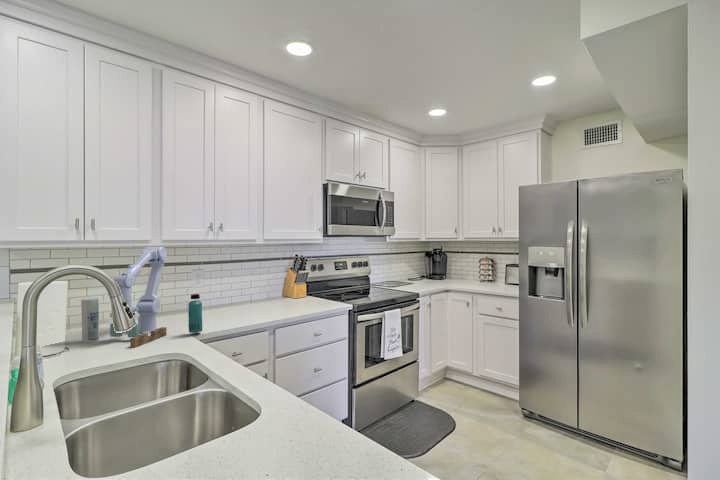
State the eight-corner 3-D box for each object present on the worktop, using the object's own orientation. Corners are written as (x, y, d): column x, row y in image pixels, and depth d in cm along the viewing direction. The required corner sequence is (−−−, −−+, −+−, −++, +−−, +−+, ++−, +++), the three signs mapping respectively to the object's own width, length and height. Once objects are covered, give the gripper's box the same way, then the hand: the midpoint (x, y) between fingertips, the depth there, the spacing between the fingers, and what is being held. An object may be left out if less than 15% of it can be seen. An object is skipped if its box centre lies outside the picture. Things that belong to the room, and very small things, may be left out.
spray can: (90, 338, 174) (90, 297, 174) (102, 339, 173) (101, 297, 173) (78, 342, 168) (77, 299, 167) (90, 343, 167) (89, 299, 166)
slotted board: (135, 347, 159) (135, 338, 159) (130, 347, 159) (130, 338, 159) (166, 335, 179) (166, 327, 179) (162, 335, 179) (162, 327, 179)
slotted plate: (110, 336, 171) (110, 324, 171) (113, 335, 173) (113, 323, 173) (136, 337, 169) (136, 324, 169) (139, 336, 171) (139, 323, 171)
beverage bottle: (198, 331, 184) (198, 292, 184) (205, 334, 180) (204, 294, 180) (186, 334, 179) (185, 294, 179) (192, 336, 175) (191, 295, 175)
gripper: (129, 297, 179) (129, 325, 179) (103, 303, 164) (104, 333, 164) (141, 298, 178) (142, 325, 178) (117, 303, 163) (118, 333, 163)
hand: (124, 329), depth 171 cm, fingers closed on slotted plate, 2 cm apart
